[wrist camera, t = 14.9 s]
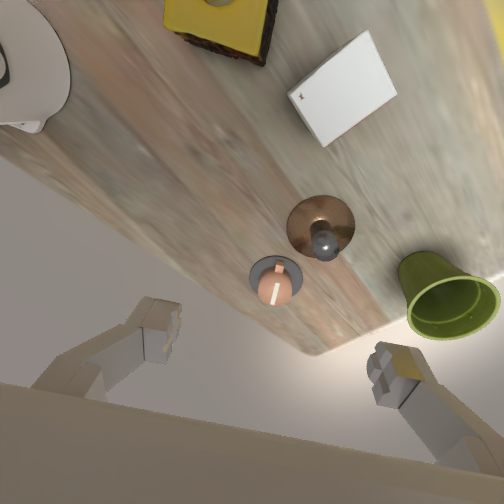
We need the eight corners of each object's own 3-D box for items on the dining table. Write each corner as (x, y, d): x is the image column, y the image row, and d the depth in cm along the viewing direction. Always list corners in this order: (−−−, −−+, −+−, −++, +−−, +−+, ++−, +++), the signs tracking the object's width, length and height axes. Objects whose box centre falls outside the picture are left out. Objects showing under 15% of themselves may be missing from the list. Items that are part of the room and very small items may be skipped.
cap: (263, 256, 50) (262, 270, 46) (296, 262, 50) (297, 276, 46) (255, 295, 55) (253, 309, 51) (285, 300, 55) (286, 315, 51)
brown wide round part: (280, 248, 50) (280, 274, 43) (295, 189, 44) (298, 208, 37) (341, 260, 50) (350, 287, 43) (363, 202, 44) (379, 223, 37)
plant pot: (470, 244, 46) (520, 285, 36) (435, 298, 52) (471, 346, 42) (399, 232, 46) (431, 270, 36) (373, 288, 52) (394, 333, 42)
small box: (310, 133, 40) (322, 150, 28) (285, 93, 37) (287, 94, 26) (363, 93, 37) (400, 94, 25) (339, 46, 34) (367, 25, 23)
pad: (246, 293, 55) (245, 295, 55) (254, 251, 50) (254, 252, 50) (295, 302, 55) (295, 304, 55) (308, 261, 50) (308, 263, 50)
